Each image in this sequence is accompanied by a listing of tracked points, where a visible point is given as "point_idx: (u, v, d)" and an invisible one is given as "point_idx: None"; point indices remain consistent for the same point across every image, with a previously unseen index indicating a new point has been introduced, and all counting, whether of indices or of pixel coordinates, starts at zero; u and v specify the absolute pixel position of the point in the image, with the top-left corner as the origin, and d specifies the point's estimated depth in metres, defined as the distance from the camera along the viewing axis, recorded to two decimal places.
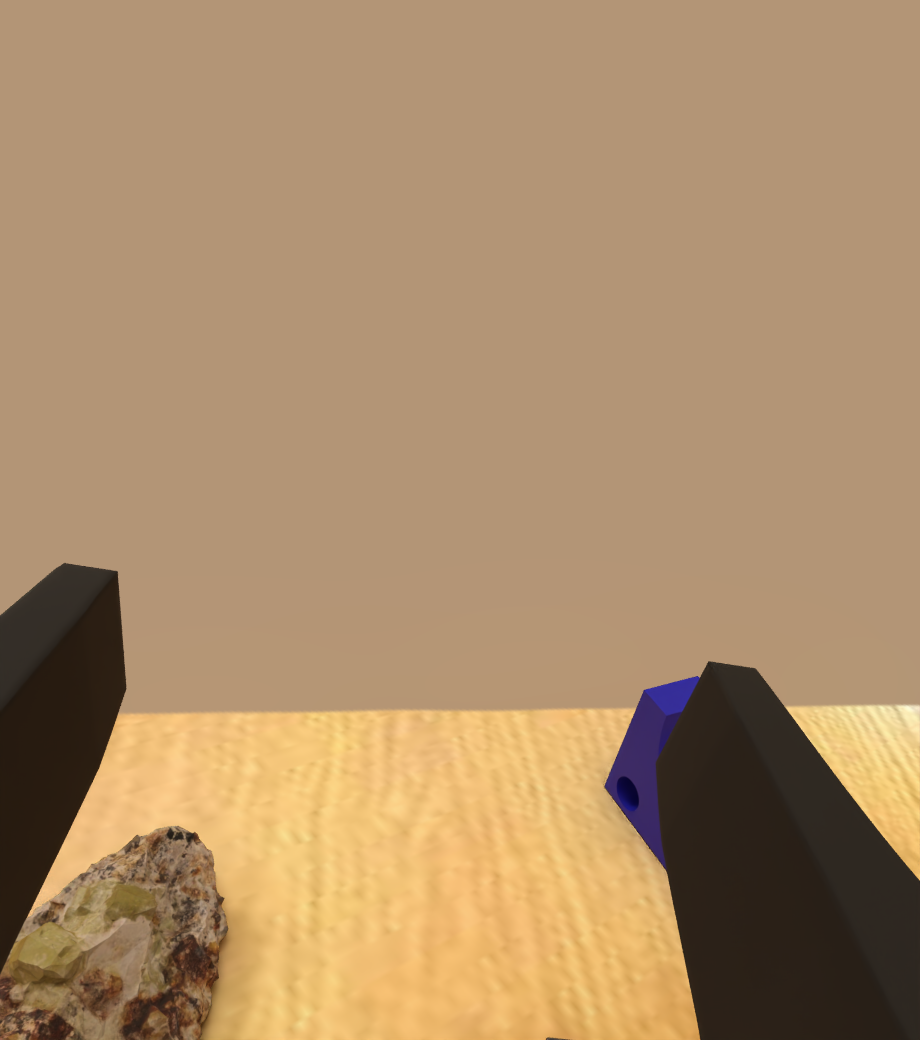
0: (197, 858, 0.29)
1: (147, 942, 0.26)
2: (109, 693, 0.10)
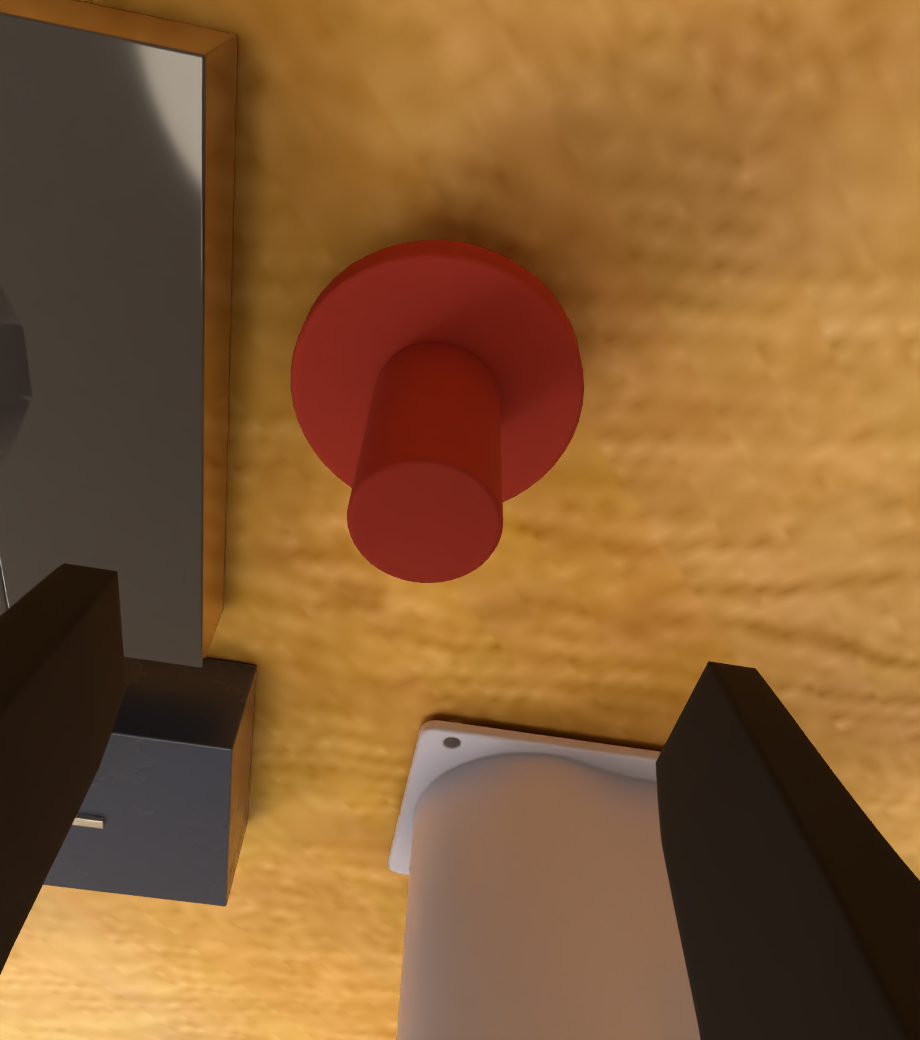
0: None
1: None
2: (110, 694, 0.10)
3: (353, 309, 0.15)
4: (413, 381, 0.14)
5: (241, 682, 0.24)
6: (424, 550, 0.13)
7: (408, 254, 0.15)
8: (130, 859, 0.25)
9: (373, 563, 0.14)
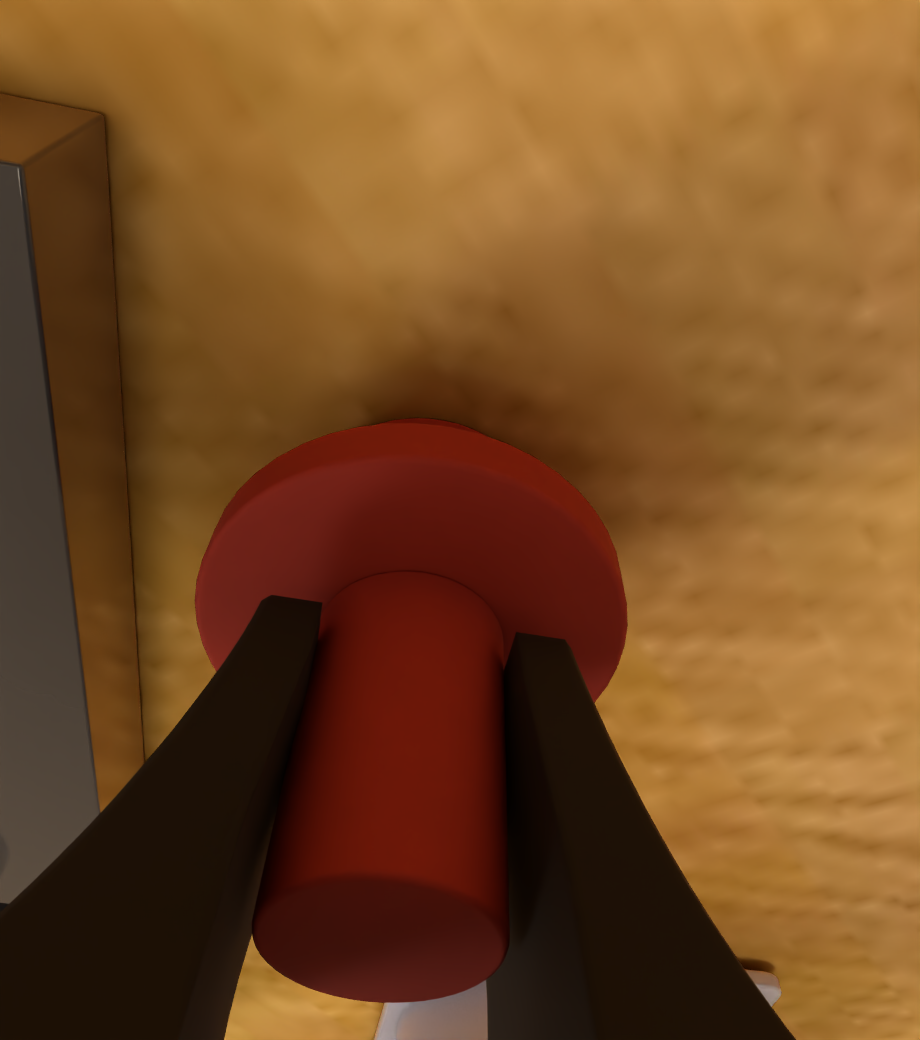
0: None
1: None
2: None
3: (281, 528, 0.10)
4: (369, 661, 0.09)
5: None
6: (381, 972, 0.08)
7: (362, 456, 0.09)
8: None
9: None
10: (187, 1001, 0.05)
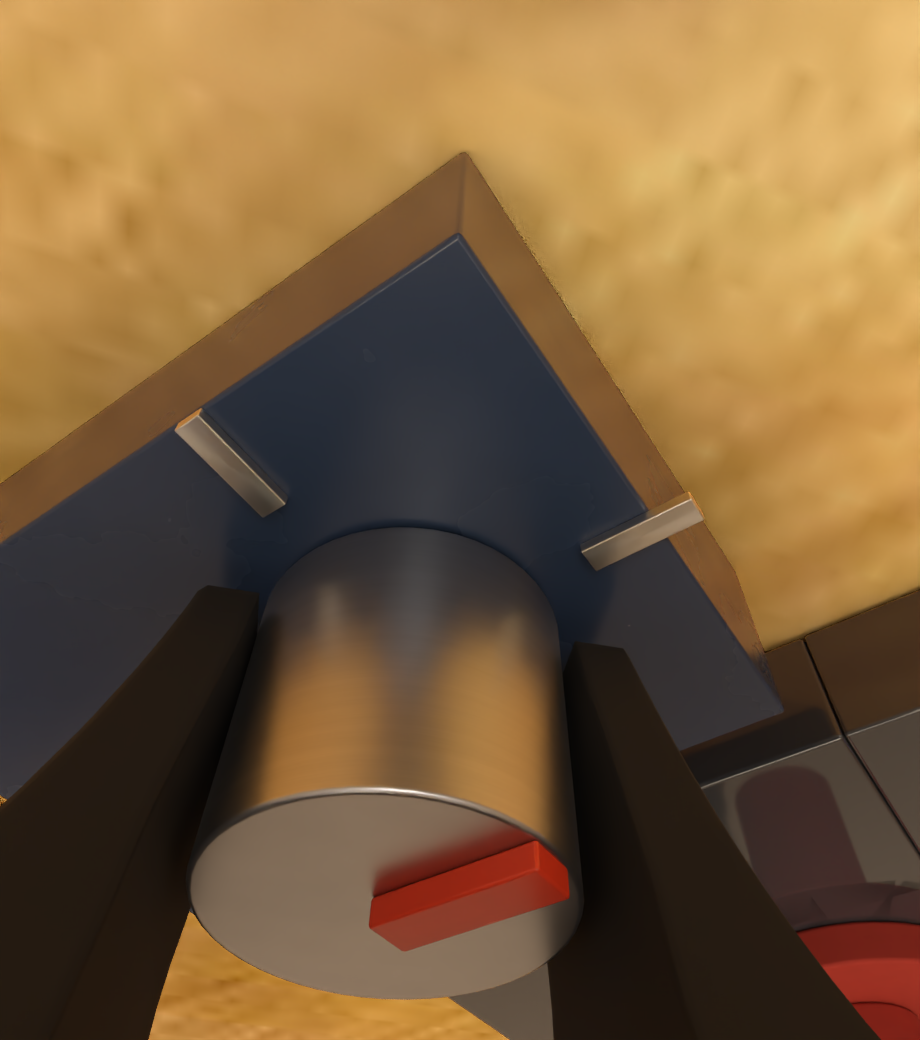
0: None
1: None
2: None
3: None
4: None
5: None
6: None
7: None
8: (61, 688, 0.12)
9: None
10: (70, 989, 0.05)
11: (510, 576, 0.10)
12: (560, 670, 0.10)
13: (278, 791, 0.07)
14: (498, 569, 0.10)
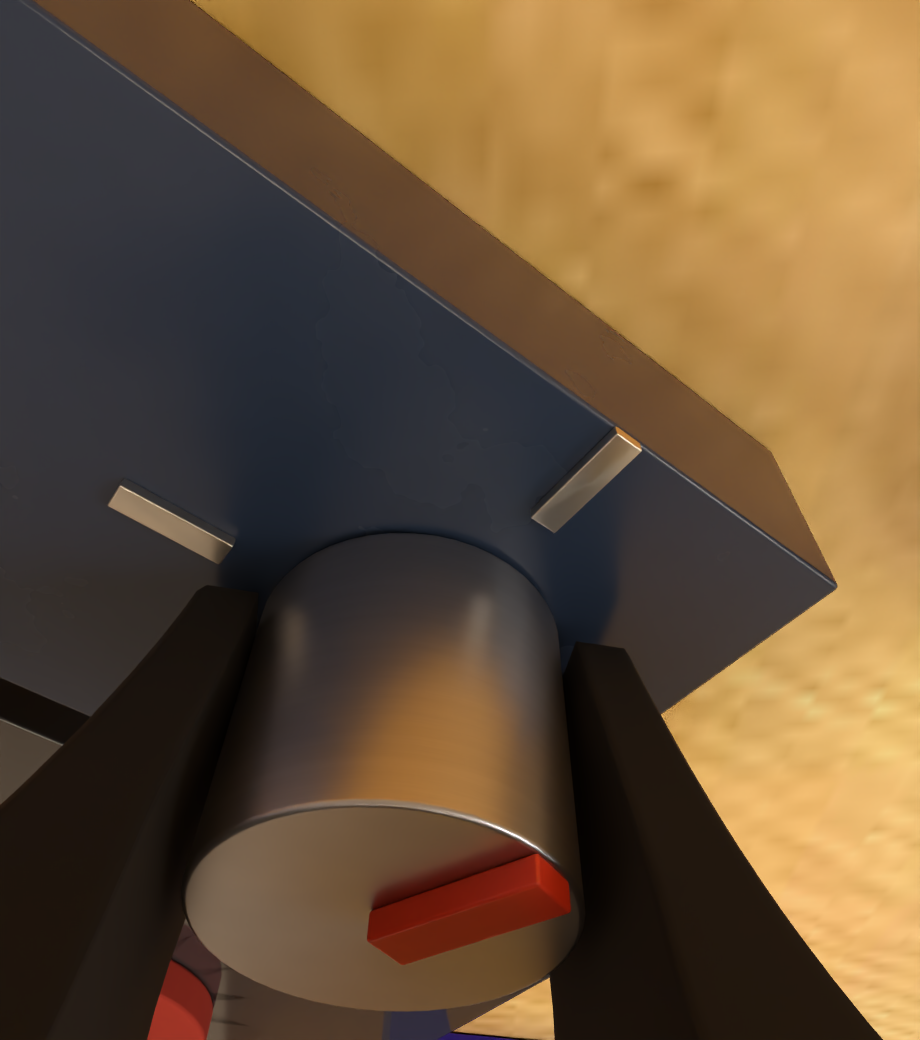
0: None
1: None
2: None
3: None
4: None
5: None
6: None
7: None
8: (134, 332, 0.08)
9: None
10: (68, 988, 0.05)
11: (510, 583, 0.10)
12: (560, 678, 0.10)
13: (275, 802, 0.07)
14: (498, 575, 0.10)
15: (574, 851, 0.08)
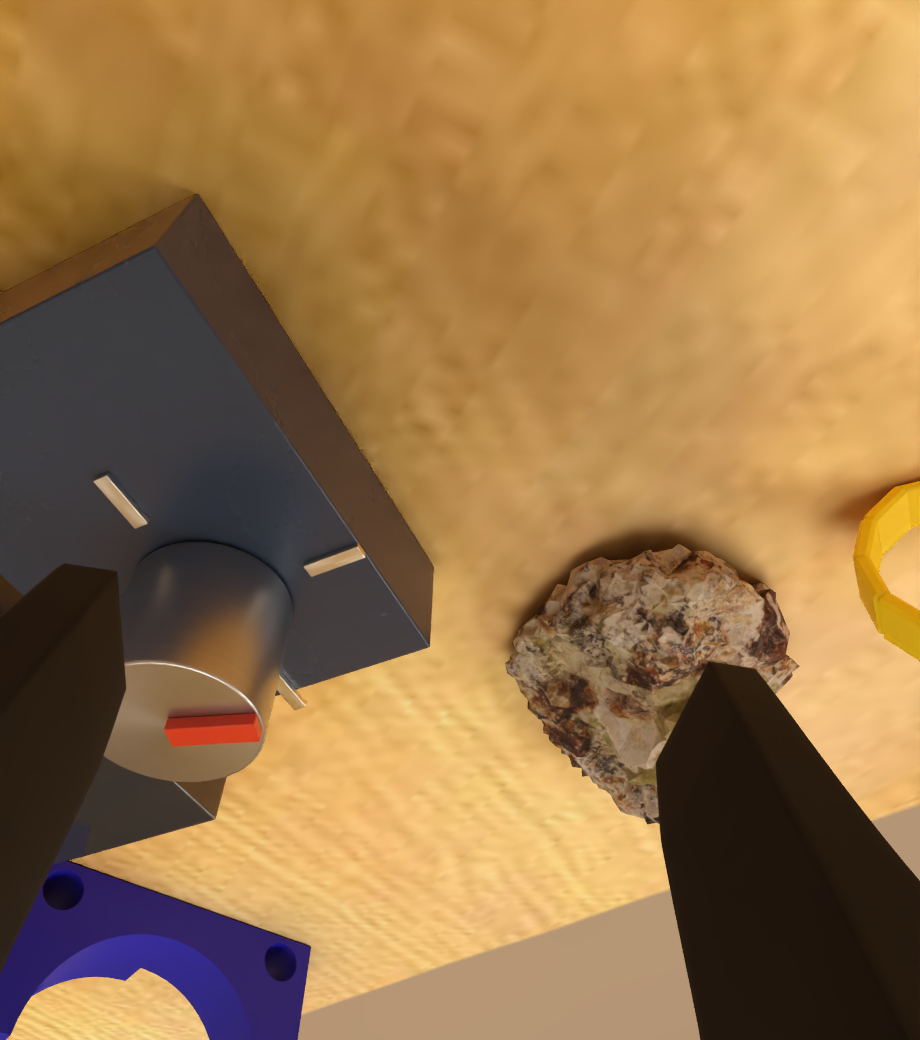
0: (627, 807, 0.26)
1: (616, 747, 0.24)
2: (109, 694, 0.10)
3: None
4: None
5: None
6: None
7: None
8: (156, 418, 0.17)
9: None
10: None
11: (281, 592, 0.19)
12: (286, 645, 0.19)
13: (155, 657, 0.16)
14: (276, 587, 0.19)
15: (268, 720, 0.18)
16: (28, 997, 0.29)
